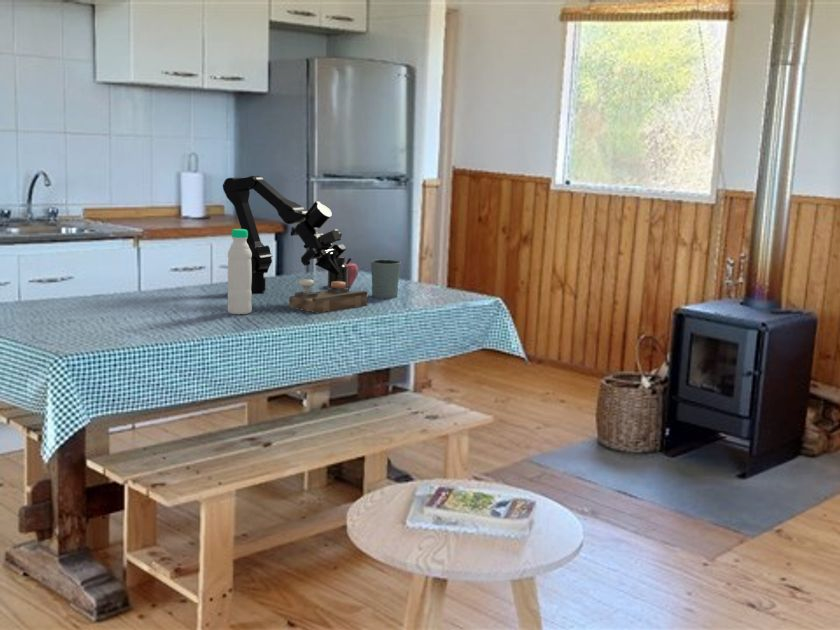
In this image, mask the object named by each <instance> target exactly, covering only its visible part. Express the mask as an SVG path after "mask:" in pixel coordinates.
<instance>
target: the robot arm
mask: <svg viewBox="0 0 840 630" xmlns="http://www.w3.org/2000/svg"><path fill="white" fill-rule="evenodd" d="M222 189H223V192H224V194H225V197H226V199H227V200H229V202H231V204H232V205H233V207H234V209H235V214H236V216H237V220H238V222H239V226H240V229H245V230H247V231H248V237H247V240H246V242H247V244H248V246H249V248H250V250H251V253H252V257H251V264H252V282H251V292H252V293H253V294H256V293H257V294H264V292H265V291H266V289H267V288H266V287H267V283H266V281H267V279H266V276H265V274H268V272H269V269H270V267H271V265H272V263H273V259H272V257H273V255H272V253H271V248H270V246H269V245H268V244H267V245H264V244H263V242H262V240H261V238H260V235H259V231H258V228H257V226H256V223H255V219H254V216H253V213H252V209H251V205H250V203H249V202H250V201H249V199H250V194H251V193H250V191H251V190H254V192H255V193H257V194H258V195H259V196H260V197H262V198H263V199H264V200H265V201H266V202H268V203H269V204H270V205H271V206H272V207H273V208H274V209H275V210H276V211H277V214H278V216H279V217H280V219H281V220H282V221H283V223H285V224H286V225H294V224H296V226H291V229H290V230H291V231H290V236H291V237H293V236H298V237H299V238H300V240H301V241H302V243H303V248H304V249H308V250H306V251H305V252H304V254H303V255H302V256H301V257H300V262H301V264H302V265H303V266H304V267H306V266H309V265H310V264H311V260H314V259H316V261H317V262H315V264H314V265H315V267H316V266H318V267H320V268H322V269H324V270H326V271H327V272H328V271H329V272H331V273H333V274H335V275H337V276H338V275H340V270H339V267H338V264H337V261H336V259H338V258H339V256H340V257H341V256H342V254H344V253H345V251H346V250H347V248H346V245H344V243H338V244H334V245H333V243H335V242H338V241H341V240H342V234H343V233H342V232H341V231H340V230H339V229H337V228H334V229H333V230H330V231H328V232H325V233H319V232H318V230H317V228H318V229H320V228H322V227H323V226H324V225H325V223H327V222H328V220H329V219H330V218H331V217H332V215H333V214H332V211H331V209H330V208H329V207H327V206H326V205H324V204H322V203H321V202H320V201H314V202H313V204H312V206H311V207H310V208H309V209H307V210H306V209H305V207H303V206H302V205H300V204H298V203H297V202H294V201H292V200H289V199H287V197H285V196H283V195H282V194H281V193H280V192H279V191H278V190H276V189H275V188H274V187H273V186H272V185H271V184H270V183H268V182H267V181H266V180H265V178H263V176H261V175H249V176H248V177H228V178H226V179H225V180H224V181H223V184H222Z"/></svg>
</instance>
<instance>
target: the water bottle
mask: <svg viewBox="0 0 840 630" xmlns="http://www.w3.org/2000/svg"><path fill="white" fill-rule="evenodd" d="M247 237H248V231H247V230H245V229H241V228H234V229H232V230H231V238H232V243H231V244H230V248H229V249H228V251H227V258H228V259H227V260H228V261H227V287H228V289H227V300H228V301H227V312H228V313H229V314H231V315H236V314H237V315H239V316H241V315H242V314H243V315H248V314H251V313H252V310H253V309H252V307H253V305H252V296H253V295H252V292H251V282H252V264H251V257H252V253H251V250H250V248H249V246H248V244H247V242H246V240H247ZM240 314H241V315H240ZM237 315H236V316H237Z"/></svg>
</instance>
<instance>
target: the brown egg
mask: <svg viewBox="0 0 840 630" xmlns="http://www.w3.org/2000/svg"><path fill="white" fill-rule="evenodd" d="M331 287H334V288H335V289H341V288H344V287H346V282H341V281H334V282H331Z"/></svg>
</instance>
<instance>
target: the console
mask: <svg viewBox="0 0 840 630" xmlns="http://www.w3.org/2000/svg"><path fill="white" fill-rule="evenodd" d="M359 306H360V307H365V306H368V291H366V290H358V291H357V290H356V291H350V288H341V289H335V288H334V287H332V288H328V287H327V288H326V291H321V292H320V291H319V292H313V291H309V293H308V294H305V293H303V291H295V292H294V295H293V296H292V295H290V296H289V306H288V307H293V308H298V309H303V310H308V311H313V312H322V313H325V312H324V311H328V312H333V311H332V310H335V311H340V310H339V309H341V310H345V308H347V309H352V307H353V308H358V307H359ZM293 308H292V309H293ZM298 309H297V310H298ZM303 310H302V311H303ZM308 311H307V312H308ZM313 312H312V313H313Z"/></svg>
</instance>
